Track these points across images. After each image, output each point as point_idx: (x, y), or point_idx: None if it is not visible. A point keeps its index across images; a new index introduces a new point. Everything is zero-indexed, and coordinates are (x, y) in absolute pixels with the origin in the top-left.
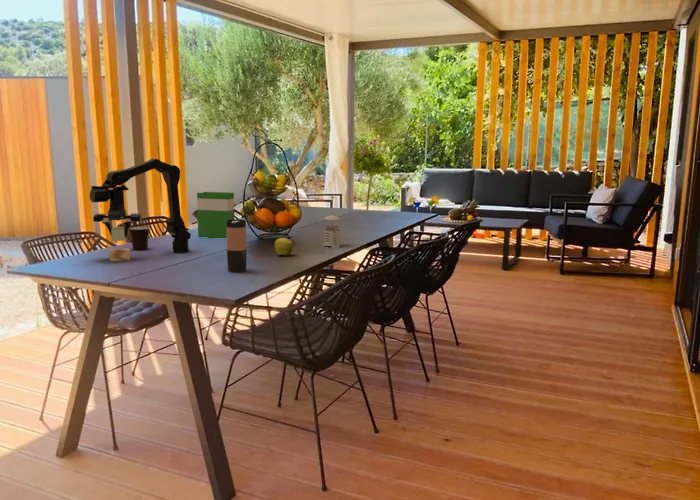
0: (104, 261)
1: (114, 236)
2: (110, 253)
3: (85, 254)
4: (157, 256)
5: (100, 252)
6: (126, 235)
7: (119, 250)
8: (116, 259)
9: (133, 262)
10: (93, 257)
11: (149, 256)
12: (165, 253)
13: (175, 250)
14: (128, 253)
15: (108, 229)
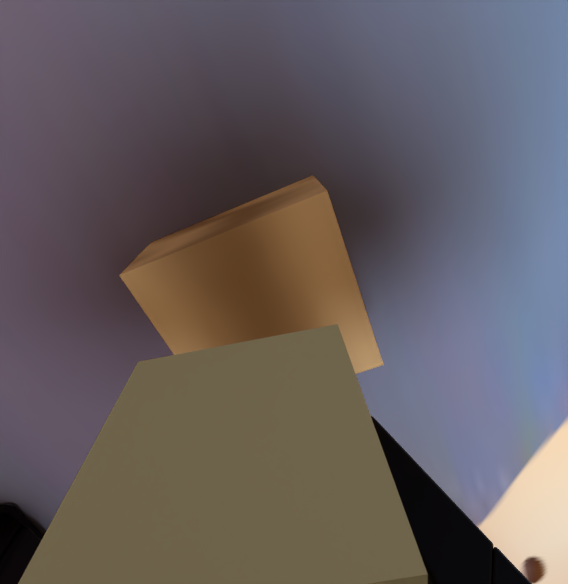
0: (359, 154)
1: (296, 387)
2: (313, 194)
3: (564, 405)
4: (30, 400)
5: (476, 463)
6: None
7: (264, 323)
8: (256, 201)
9: (42, 125)
10: (495, 319)
11: (89, 394)
12: (52, 483)
13: (7, 527)
14: (138, 262)
15: (522, 580)
